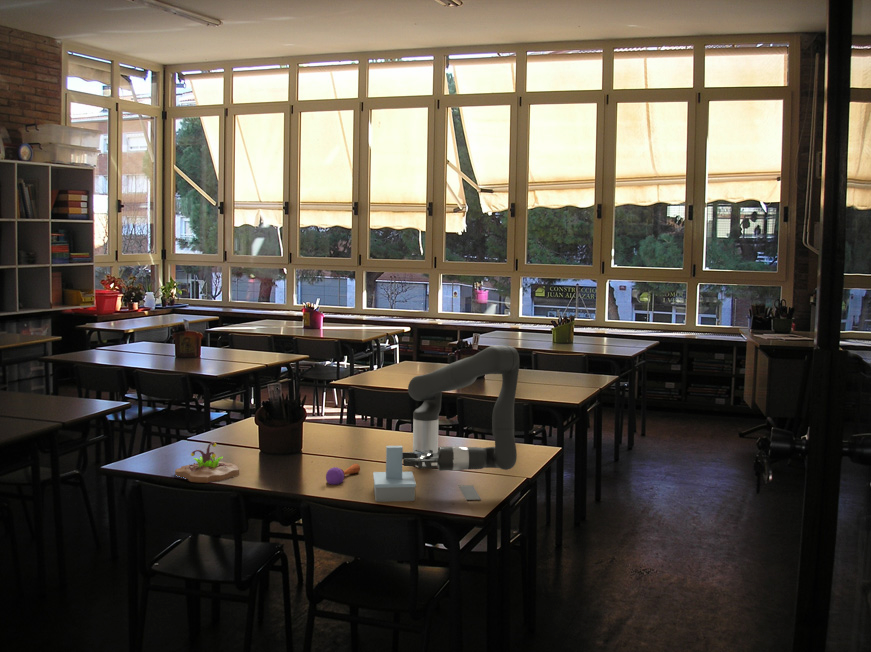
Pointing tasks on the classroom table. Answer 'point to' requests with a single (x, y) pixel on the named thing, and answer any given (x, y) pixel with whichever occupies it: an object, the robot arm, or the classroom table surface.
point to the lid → (394, 471)
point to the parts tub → (394, 494)
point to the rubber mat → (469, 492)
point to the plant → (207, 468)
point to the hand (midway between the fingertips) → (402, 459)
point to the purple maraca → (340, 474)
